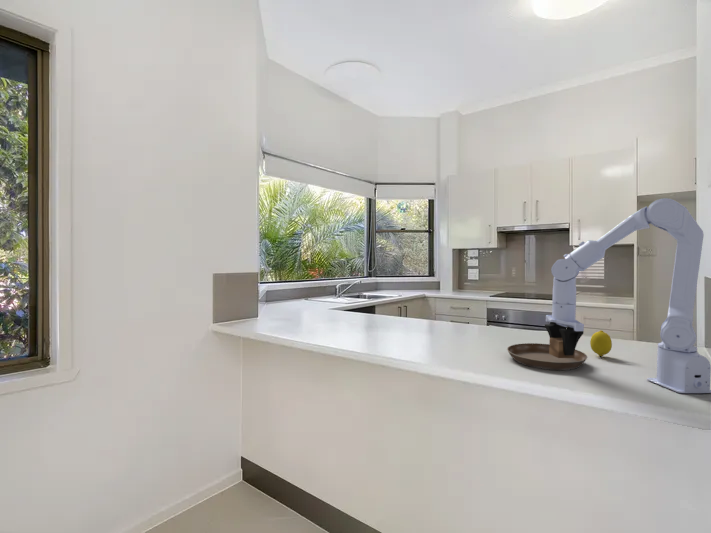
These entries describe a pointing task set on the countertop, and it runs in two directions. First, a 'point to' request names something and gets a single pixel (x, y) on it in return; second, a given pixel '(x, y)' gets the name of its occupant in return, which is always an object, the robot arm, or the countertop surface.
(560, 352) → the walnut block
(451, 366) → the countertop surface
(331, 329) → the countertop surface
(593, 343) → the lemon
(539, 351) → the plant saucer
